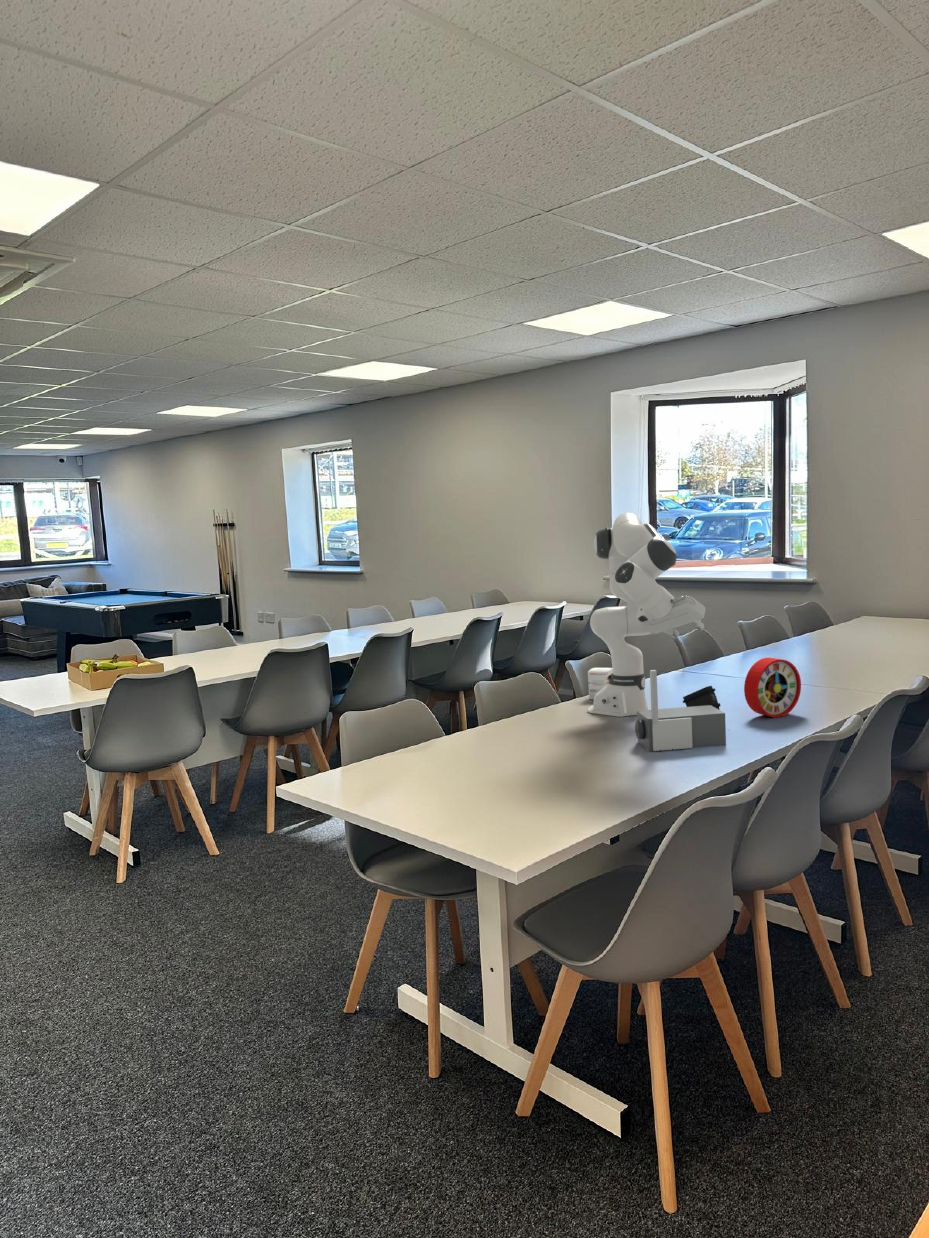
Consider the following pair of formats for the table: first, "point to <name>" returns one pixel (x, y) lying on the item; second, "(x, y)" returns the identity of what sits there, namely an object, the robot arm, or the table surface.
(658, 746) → the door
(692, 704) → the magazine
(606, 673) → the ink box
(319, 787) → the table surface
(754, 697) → the toy clock
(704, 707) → the camera housing
